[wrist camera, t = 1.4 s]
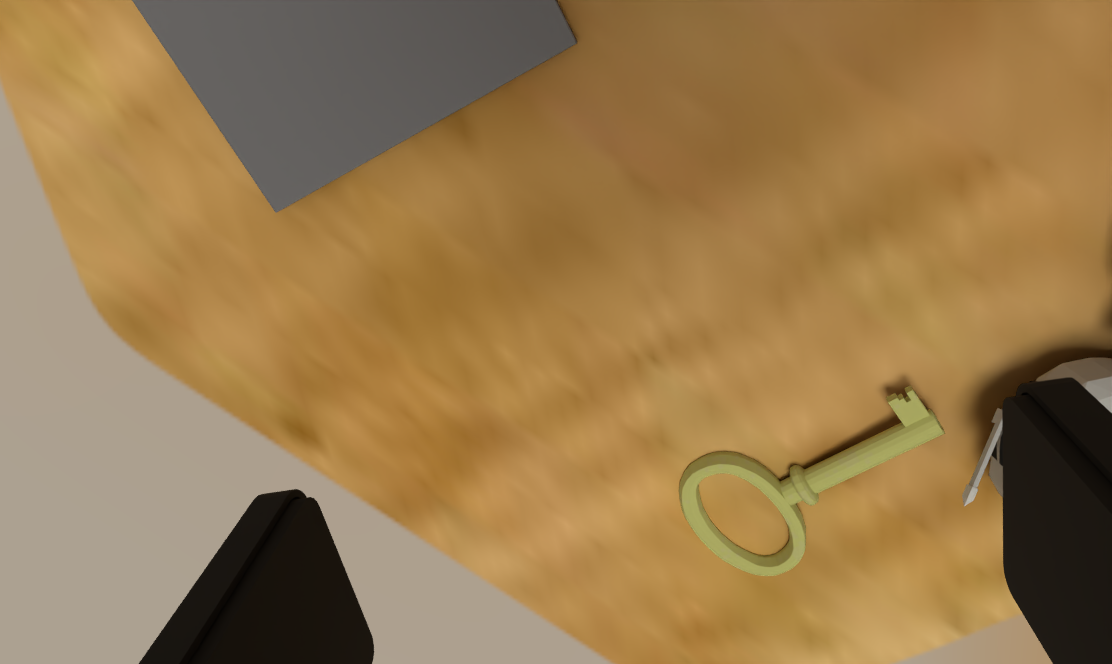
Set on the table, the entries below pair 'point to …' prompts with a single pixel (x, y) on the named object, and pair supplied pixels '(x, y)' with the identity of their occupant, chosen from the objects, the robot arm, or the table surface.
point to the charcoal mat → (344, 73)
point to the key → (800, 483)
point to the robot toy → (1097, 375)
